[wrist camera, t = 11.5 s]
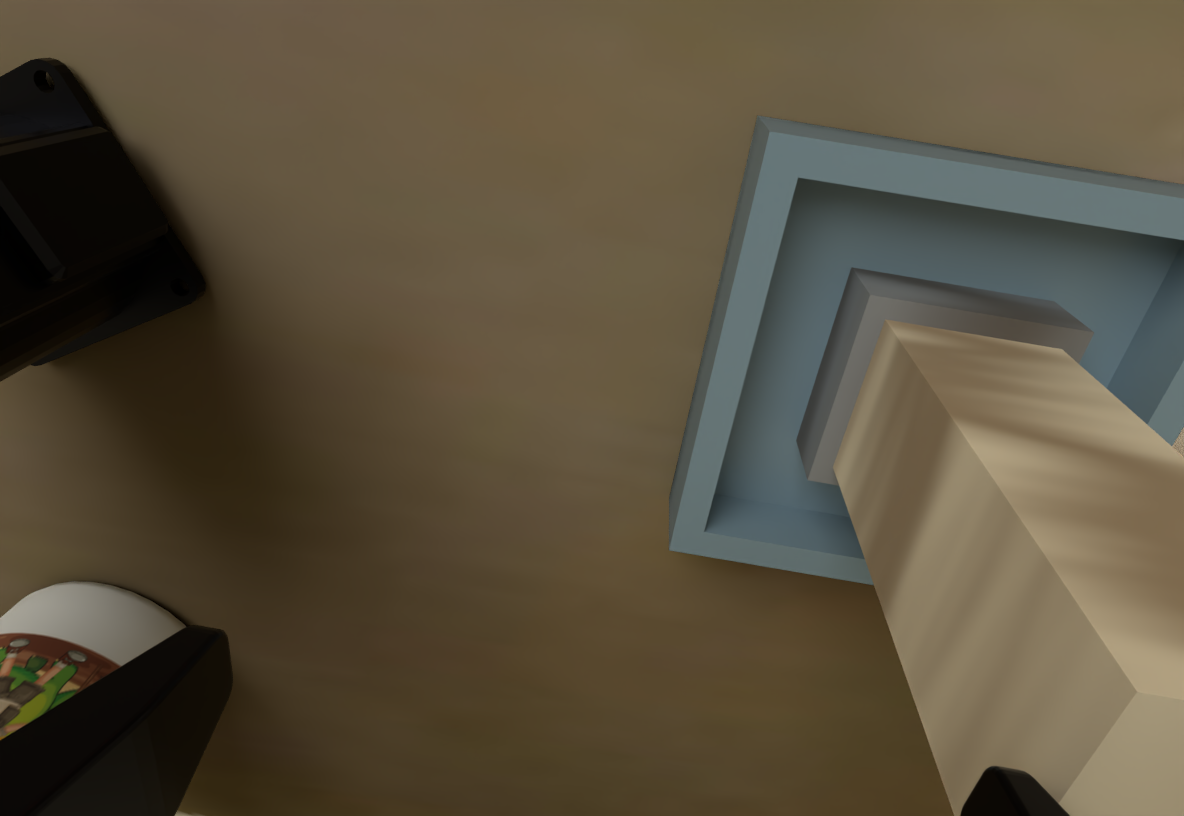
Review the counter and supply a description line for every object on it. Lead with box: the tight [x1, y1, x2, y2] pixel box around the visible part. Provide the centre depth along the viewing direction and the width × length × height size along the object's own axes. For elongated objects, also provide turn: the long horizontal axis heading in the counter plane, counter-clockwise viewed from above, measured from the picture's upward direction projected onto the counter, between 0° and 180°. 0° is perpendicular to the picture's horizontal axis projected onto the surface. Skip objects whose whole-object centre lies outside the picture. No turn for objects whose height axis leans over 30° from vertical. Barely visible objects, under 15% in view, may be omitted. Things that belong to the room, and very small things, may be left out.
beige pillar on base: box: [796, 267, 1184, 816], centre depth 14 cm, size 5×5×12 cm
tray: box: [669, 116, 1184, 585], centre depth 19 cm, size 11×11×2 cm
